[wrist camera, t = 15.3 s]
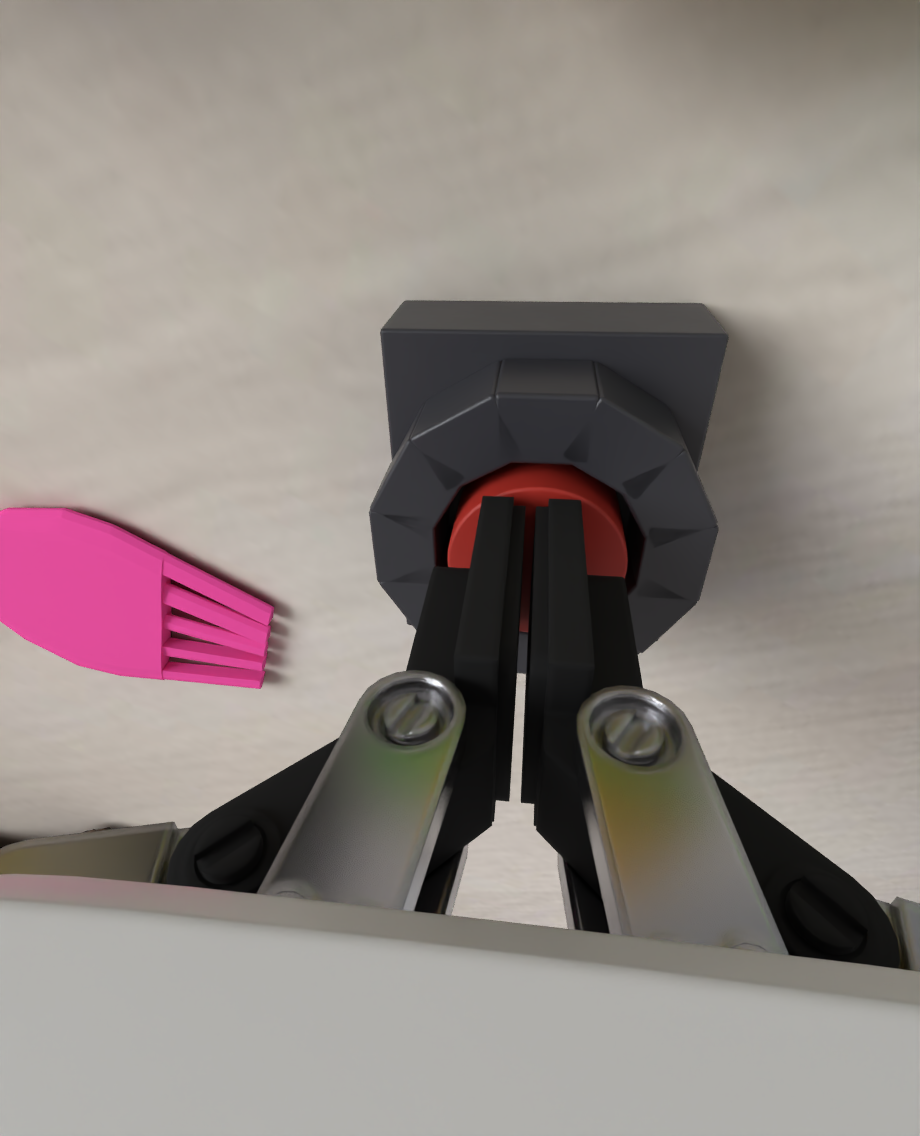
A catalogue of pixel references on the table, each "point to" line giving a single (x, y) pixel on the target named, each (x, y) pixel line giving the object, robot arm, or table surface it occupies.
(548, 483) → the button
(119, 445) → the table surface
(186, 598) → the pastry brush
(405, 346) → the button box
